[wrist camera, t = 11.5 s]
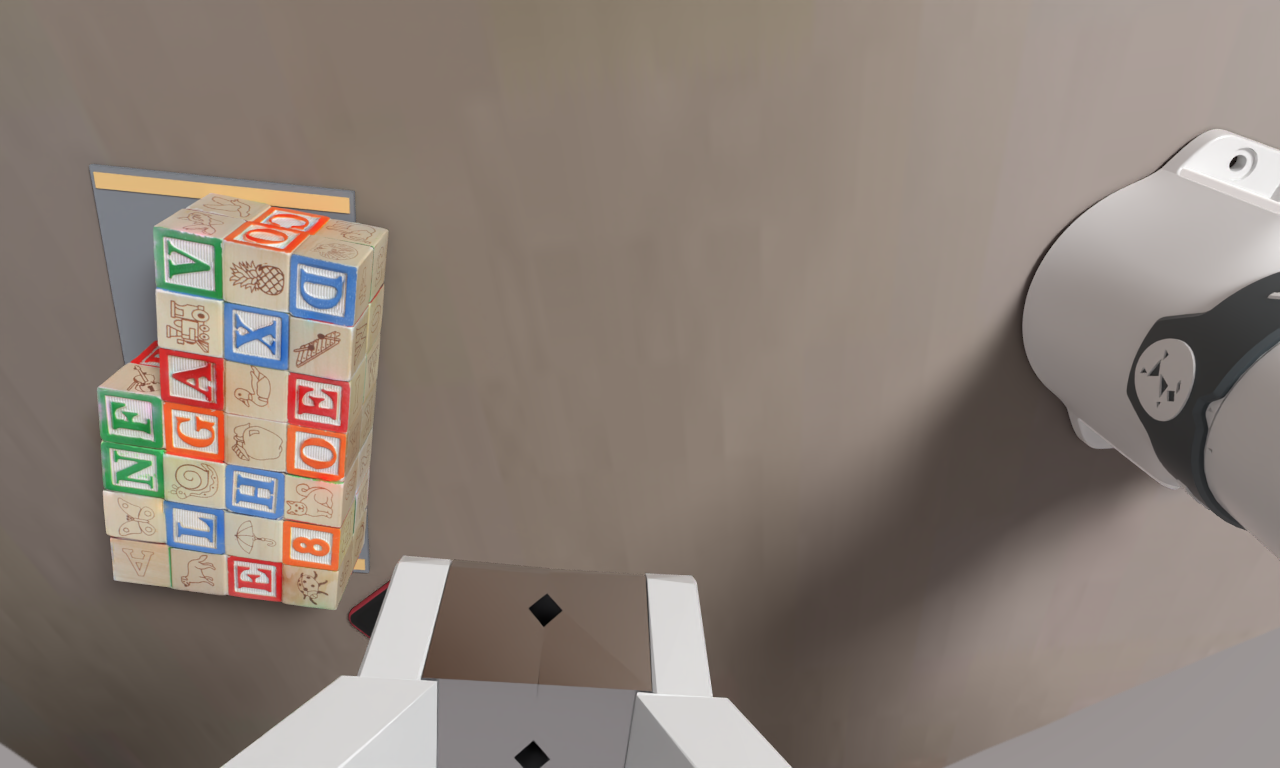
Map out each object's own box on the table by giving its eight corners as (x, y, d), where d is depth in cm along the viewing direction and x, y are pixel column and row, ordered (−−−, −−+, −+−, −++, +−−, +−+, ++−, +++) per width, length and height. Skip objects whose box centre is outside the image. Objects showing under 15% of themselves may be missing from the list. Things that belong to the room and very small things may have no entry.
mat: (354, 191, 44) (352, 193, 43) (369, 569, 55) (368, 573, 55) (92, 164, 43) (88, 165, 42) (162, 555, 54) (159, 559, 54)
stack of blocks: (393, 226, 44) (147, 176, 43) (361, 267, 39) (77, 211, 37) (364, 545, 54) (162, 513, 52) (335, 615, 48) (108, 581, 47)
